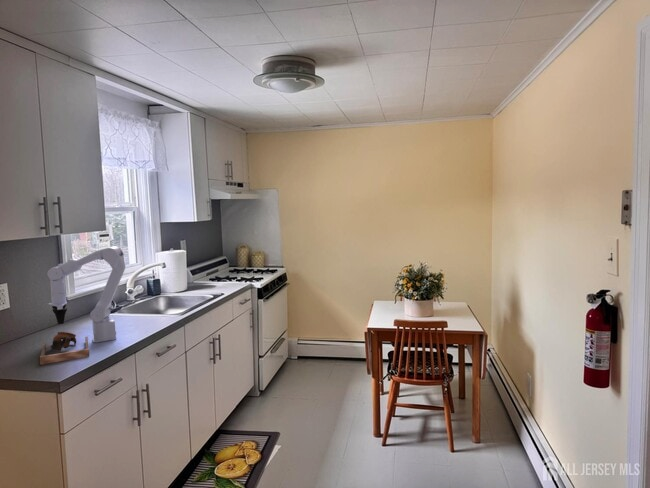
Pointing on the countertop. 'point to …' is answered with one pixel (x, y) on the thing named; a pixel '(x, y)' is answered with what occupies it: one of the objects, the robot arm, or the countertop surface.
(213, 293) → the countertop surface
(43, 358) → the wooden bracket
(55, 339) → the brown jagged ring
